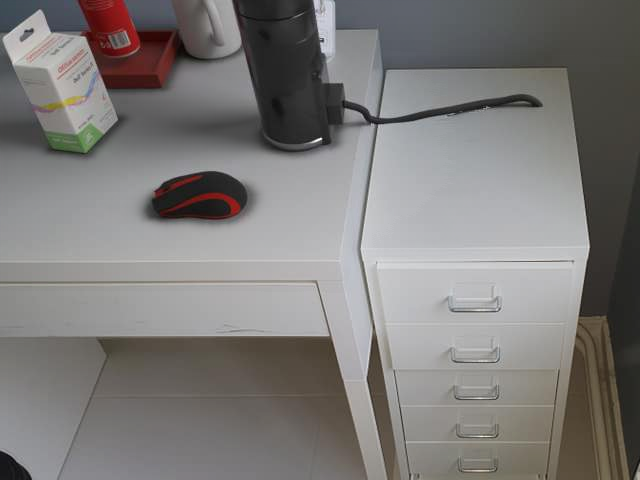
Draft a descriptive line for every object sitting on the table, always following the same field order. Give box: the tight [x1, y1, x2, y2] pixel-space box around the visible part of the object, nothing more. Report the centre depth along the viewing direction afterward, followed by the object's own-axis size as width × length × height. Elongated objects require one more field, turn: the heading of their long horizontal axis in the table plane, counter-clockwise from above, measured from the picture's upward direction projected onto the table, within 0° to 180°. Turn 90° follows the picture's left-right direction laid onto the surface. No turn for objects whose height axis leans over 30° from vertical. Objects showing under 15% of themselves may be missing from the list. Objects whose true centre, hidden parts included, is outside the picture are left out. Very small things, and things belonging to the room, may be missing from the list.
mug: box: [170, 0, 242, 60], centre depth 108 cm, size 12×8×11 cm
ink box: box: [2, 9, 119, 154], centre depth 92 cm, size 9×5×15 cm, turn 168°
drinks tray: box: [79, 29, 183, 89], centre depth 108 cm, size 14×13×2 cm
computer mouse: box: [151, 170, 248, 220], centre depth 87 cm, size 6×11×4 cm, turn 94°
